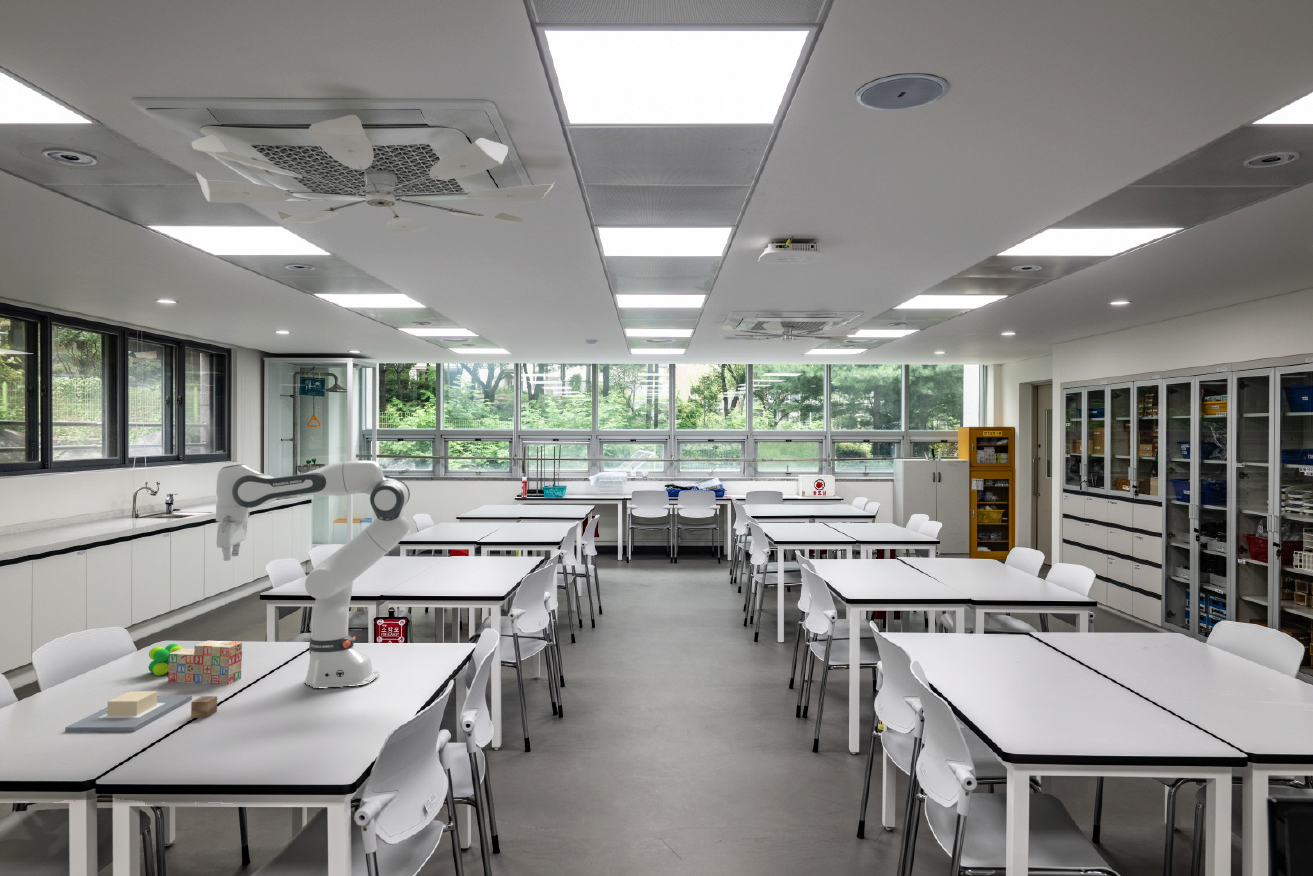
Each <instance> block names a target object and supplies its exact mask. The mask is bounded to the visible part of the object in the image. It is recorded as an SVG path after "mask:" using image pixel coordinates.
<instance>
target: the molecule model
mask: <svg viewBox="0 0 1313 876" xmlns="http://www.w3.org/2000/svg"><path fill="white" fill-rule="evenodd" d="M180 649H184V648H183V646H182V645H181V646H180V645H179V644H177V643H170V644H167V646H165V648H164V647H162V646H154V647H152V648H150V650H149V652H148V657H149V658H150V659H151V660H152V661H150V663H149V664H148V670H149V671H150V672H151V673H152V674H153V675H155V676H157V677H158V676H159V677H162V676H164V675H166V674H168V673H169V672H168V667H169V663H168V656H169V653H172V652H175V651H177V650H180ZM161 675H162V676H161Z"/></svg>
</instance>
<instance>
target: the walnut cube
mask: <svg viewBox="0 0 1313 876" xmlns="http://www.w3.org/2000/svg"><path fill="white" fill-rule="evenodd" d="M190 705H191V706H190V708H191V709H190V718H192V719H197V718H198V719H199V718H200V719H201V718H202V719H203V718H205V719H206V718H209V717H211V716H212V715H214V714H217V712H218V696H215V695H211V696H208V695H205V696H199V697H198V698H196V699H195V700H191V704H190Z"/></svg>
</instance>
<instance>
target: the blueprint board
mask: <svg viewBox="0 0 1313 876" xmlns="http://www.w3.org/2000/svg"><path fill="white" fill-rule="evenodd" d="M189 700H190V701H193V695H158V691H156V690H155V691H150V690H149V691H144V690H142V691H127V692H125V693H123V694H121V695H119V696H117V697H114V698H112V699H110V700H108V701H107V707H105V708H103V709H100V710H98V711H97V712H94V713H92V714H90V715H89V716H86V717H84V718H82V719H80V720H78V721H76V722H73V723H71V724H70V725H67V726H65V728H64V729H65V730H64V732H65V733H84V732H83V731H86V732H85V733H99V732H100V733H109V732H111V733H114V732H117V733H119V732H120V733H123V732H124V733H126V732H128V733H131V732H136V731H138V730H140V729H142V728H143V727H145V726H147V725H149V724H150V723H152V722H154V721H156V720H158V719H159V718H161V717H163V716H165V715H167V714H168V713H171V712H172V711H174V710H176V709H178V708H179V707H181V706H183V705H185V704H187V703H189V702H190V701H189ZM74 731H75V732H74ZM79 731H80V732H79ZM87 731H88V732H87Z"/></svg>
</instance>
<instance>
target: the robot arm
mask: <svg viewBox="0 0 1313 876" xmlns="http://www.w3.org/2000/svg"><path fill="white" fill-rule="evenodd" d="M215 488H216V496H217V502H216V505H215V522H219V523H218V526H217V530H216V531H217V533H216V546H217V548H219V549H220V548H221V552H222V555H223V557H222V558H223V559H222V560H223V561H225V562H226V561H227V562H229V561H231V559H232V557H238V556H239V555H240V549H241V542H243V541H245V540H246V538H247V532H248V521H249V518H250V511H249V509H251V508H252V509H253V508H257V507H258V506H264V505H268V504H271V503H274V502H275V501H277V499H279V498H284V497H291V496H299V495H317V496H331V497H332V496H346V495H347V496H349V495H355V494H367V495H369V503H370V506H371V508H372V509H373V513H374V514H375V516H376V518H375V519H374V520H373V521H371V523H370V524H368V525H367V526H366V527H365V528H363V529H362V530H361V531H360V532H359V533H357V535H355V536H354V537H353V538H351V539H350V540H349V541H348V542H347V543H345V544H343V546H341V547H340V548H339V549H337V550H336V551H334V552H333V553H332V554H331V555H329V556H328V557H327V558H325V559H324V560H323V561H322V562H320V563H319V564H318V565H317V566H315V567H314V568H313V569H312V570H311V571H310V572H309V573H308V575H307V576H306V579H305V582H304V586H305V587H304V588H305V590H306V592H307V593H308V595H309V596H311V597H312V598H314V599H315V602H314V607H313V610H312V612H311V627H310V628H311V634H310V635H311V637H310V638H309V646H308V647H309V655H310V656H309V662H308V670H307V672H306V677H305V679H304V684H305V683H306V685H307V686H309V685H310V686H309V687H311V688H312V687H313V688H319V687H340V688H344V687H343V686H349V685H357V684H363V683H366V682H370V681H371V680H373V679H374V678H376V677H377V675H378V673H379V674H380V672H379V670H377V669H373V667H372V666H373V663H372V660H371V658H370V656H369V655H368V654H366V653H364V652H363V651H361V650H360V649H358V648H357V647H356V646H355V645H354V642H355V640H356V636H353V637H352V636H351V635H350V634H349V613H350V612H349V610H350V603H351V598H352V593H353V592H352V591H353V584H354V581H355V580H357V578H359V577H360V576H361V575H363V574H364V573H365V572H366V571H367V570H368V569H370V568H371V567H372V566H374V565H375V564H376V563H377V562H378V561H380V560H381V559H382V558H383V557H384V556H385V555H387V554H388V553H389V552H390V551H392V549H394V548H395V547H396V546H398V544H399V543H400V542H401V541H402V540H403V538H405V537H406V535H407V534H408V532H409V529H410V524H409V521H408V519H407V517H405V516H404V514H403V509H404V508H405V506H407V503H409V500H410V496H411V493H410V489H409V486H407V484H406V483H405V482H403V481H402V480H400V479H397V478H396V477H395V478H394V477H392V476H388V475H384V471H383V469H382V466H381V465H380V463H378V462H376V461H375V460H349V461H347V460H346V461H340V462H335V463H331V464H327V465H325V466H321V467H319V468H317V469H314V470H310V471H308V472H307V471H306V472H305V473H300V474H295V475H287V476H280V477H275V476H272V475H269V474H266V473H262V472H259V471H256V470H254V469H252V468H251V467H249V466H248V465H246V464H242V463H241V464H231V465H227V466H223V467H222V468H220V470H219V471H218V473H217V479H216V487H215ZM313 688H312V689H313Z"/></svg>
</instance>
